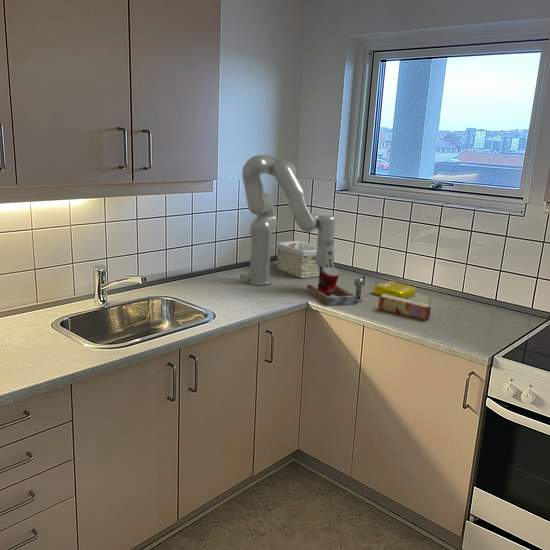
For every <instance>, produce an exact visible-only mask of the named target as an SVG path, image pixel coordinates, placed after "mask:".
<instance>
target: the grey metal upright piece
mask: <svg viewBox="0 0 550 550" xmlns="http://www.w3.org/2000/svg"><path fill="white" fill-rule="evenodd" d="M353 282H354V283H353V284H354V286H355V287H356V288H355V289H356V290H355V295H357V296H358V301H357V303H362V302H363V298H361V297H362V287H364V286H365V284H366V275H363V276H362V277H359V278H357V277H356V278H355V279H354V281H353Z"/></svg>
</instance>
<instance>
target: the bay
mask: <svg viewBox="0 0 550 550" xmlns="http://www.w3.org/2000/svg"><path fill="white" fill-rule="evenodd" d="M307 291H308V293H309V294H310V293H311V294H310V295H312V296H313V295H314V297H315V298H316V297H317V298H316V299H318V300H319V299H320V300H319V301H320V302H322V303H323V302H324V304H325V305H326V306H328V307H331V306H332V307H333V305H335V306H347V305H348V304H349V305H358V302H357V301H358V296H357V295H356V294H354V293H351V292H349V291H348V290H347V289H345V288H343V287H341V286H339V285H338V284H336V286H335V288H334V291H333V293H335V294H337V296H329V295H325V294H324V293H322V292H321V291H319V290H318V288H316V287H315V286H313V285H312V284H307V287H306V292H307ZM338 295H339V296H338ZM346 304H347V305H346Z"/></svg>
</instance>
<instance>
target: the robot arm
mask: <svg viewBox="0 0 550 550" xmlns="http://www.w3.org/2000/svg"><path fill="white" fill-rule="evenodd" d="M241 172H242V174H241V175H242V176H241V177H242V182H243V186H244V191H245V197H246V203H247V207H248V210H249V212H250V213H251V214H253V215H256V218H255V219H254V220H253V221H252V222H251V224H250V229H249V231H250V233H249V234H250V257H249V259H250V260H249V261H250V263H249V271H247V273H245V274H244V273H243V274H239V278H240V279H243V280H245V281H246V283H247V284H249V285H254V286H268V285H271V284H272V283H273V279H272V278H270V272H271V271H270V270H271V268H270V266H271V254H272V252H271V250H272V241H271V234H273V233H275V231H276V230H277V228H278V220H277V215H276V210H275V203H274V201H273V198H272V197H271V196H270V195H269V194H268V193H266V192H265V190H264V186H263V182H262V180H261V179H262V178H261V175H263V174H267V175H270V176H274V178H275V179H276V182H277V183H278V185H279V186H280V189H281V190H282V193H283V194H284V196H285V197H286V200H287V203H288V204H287V205H288V206H289V210H290V212H291V215H292V217H293V218H294V221H295V222H296V225H297V227H299V228H300V230H301V231H303V232H304V233H310V232H311V233H312V231H314V230H317V239H316V240H317V241H316V246H317V251H316V264H317V266H318V267H319V272H320V273H319V276H318V281H319V280H320V277H321V274H322V271H323V268H324V267H326V266H327V267H328V268H330V266H331V267H335V266H334V264H335V251H334V242H335V232H336V231H335V229H336V218H335V216H333V215H327V214H326V215H322V214H318V213H314V212H310V211H309V209H308V207H307V205H306V201H305V191H304V188H303V186H302V185H301V182H300V181H299V179H298V178H297V168H296V166H295V165H294V164H293V163H292V162H289V161H287V160H284V159H280V158H278V157H275V156H272V155H270V154H269V155H268V154H258V155H254V156H252V157H250V158H249V159H248V160H247V161H246V162H245V163H244V165H243V166H242V171H241Z"/></svg>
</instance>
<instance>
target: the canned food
mask: <svg viewBox="0 0 550 550" xmlns="http://www.w3.org/2000/svg"><path fill="white" fill-rule="evenodd" d="M339 276H340V270H339V269H338V268H336V267H335V266H334V267H331V266H330V268H328V267H327V266H326V267H324V268H323V271H322V274H321V277H320V280H319V279H318V284H317V289H318V290H319V291H321V292H322V293H324V294H325V295H327V296H330V295H332V294H333V293H334V288H335V286H336V285H337V282H338V279H339Z"/></svg>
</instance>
